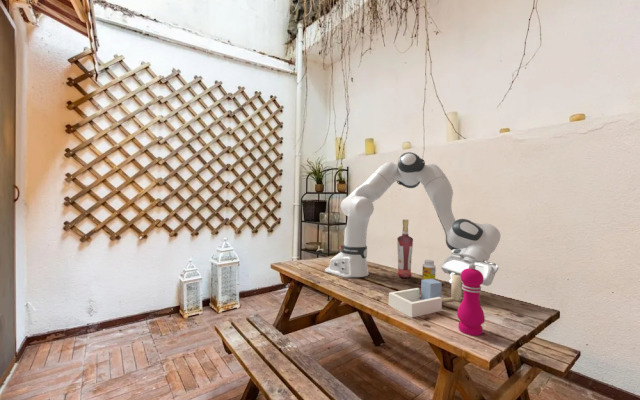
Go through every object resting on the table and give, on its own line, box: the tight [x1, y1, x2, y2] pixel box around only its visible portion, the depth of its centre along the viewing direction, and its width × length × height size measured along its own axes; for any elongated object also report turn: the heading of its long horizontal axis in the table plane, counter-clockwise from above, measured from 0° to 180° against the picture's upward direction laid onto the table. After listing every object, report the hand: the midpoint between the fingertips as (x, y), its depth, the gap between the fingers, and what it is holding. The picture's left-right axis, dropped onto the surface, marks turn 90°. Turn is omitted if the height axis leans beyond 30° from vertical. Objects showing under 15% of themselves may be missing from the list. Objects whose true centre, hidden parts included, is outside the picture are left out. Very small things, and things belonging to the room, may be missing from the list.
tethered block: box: [420, 275, 463, 303], centre depth 107 cm, size 16×5×9 cm, turn 109°
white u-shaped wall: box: [388, 287, 443, 318], centre depth 100 cm, size 14×11×4 cm
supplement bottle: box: [421, 259, 437, 280], centre depth 130 cm, size 6×6×10 cm
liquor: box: [396, 219, 414, 279], centre depth 138 cm, size 7×7×28 cm
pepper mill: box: [456, 263, 486, 337], centre depth 84 cm, size 7×7×20 cm
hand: (456, 285), depth 110 cm, fingers closed on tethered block, 4 cm apart
